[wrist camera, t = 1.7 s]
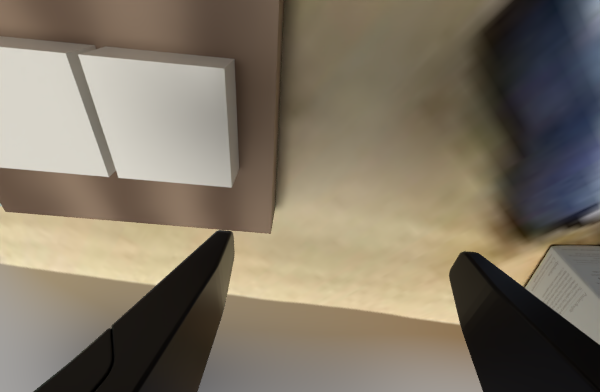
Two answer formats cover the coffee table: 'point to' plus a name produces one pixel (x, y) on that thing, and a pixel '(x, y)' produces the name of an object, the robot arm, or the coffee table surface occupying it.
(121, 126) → the tile
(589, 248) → the skincare box
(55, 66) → the tile
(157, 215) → the brown flat block
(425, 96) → the coffee table surface
